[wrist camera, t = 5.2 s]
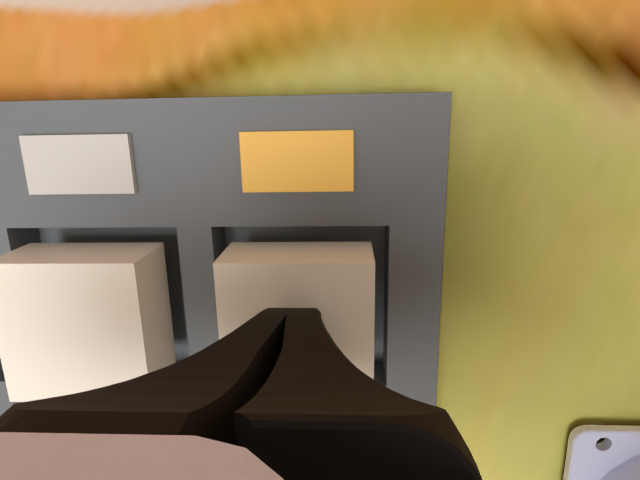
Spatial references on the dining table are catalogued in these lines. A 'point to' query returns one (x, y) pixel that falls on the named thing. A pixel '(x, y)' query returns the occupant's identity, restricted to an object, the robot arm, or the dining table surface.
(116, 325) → the button middle
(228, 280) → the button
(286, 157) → the button board
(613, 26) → the dining table surface
